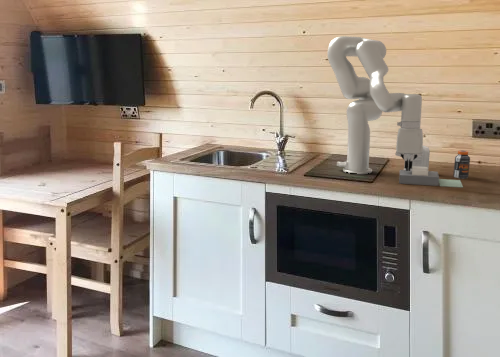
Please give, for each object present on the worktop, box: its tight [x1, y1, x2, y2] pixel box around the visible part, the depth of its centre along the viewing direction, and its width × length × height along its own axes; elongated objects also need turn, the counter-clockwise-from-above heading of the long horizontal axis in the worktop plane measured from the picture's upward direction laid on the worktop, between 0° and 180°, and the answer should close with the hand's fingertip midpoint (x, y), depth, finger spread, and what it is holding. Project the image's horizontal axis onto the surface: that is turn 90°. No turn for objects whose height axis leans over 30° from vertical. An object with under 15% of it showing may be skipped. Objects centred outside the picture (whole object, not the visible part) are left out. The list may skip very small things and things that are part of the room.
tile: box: [412, 166, 429, 176], centre depth 215 cm, size 6×8×2 cm
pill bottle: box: [453, 149, 471, 179], centre depth 223 cm, size 6×6×11 cm
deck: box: [398, 169, 440, 187], centre depth 216 cm, size 15×11×4 cm
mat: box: [438, 178, 464, 188], centre depth 213 cm, size 8×12×1 cm
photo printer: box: [403, 145, 431, 170], centre depth 232 cm, size 10×4×12 cm, turn 67°
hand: (408, 170), depth 216 cm, fingers closed
